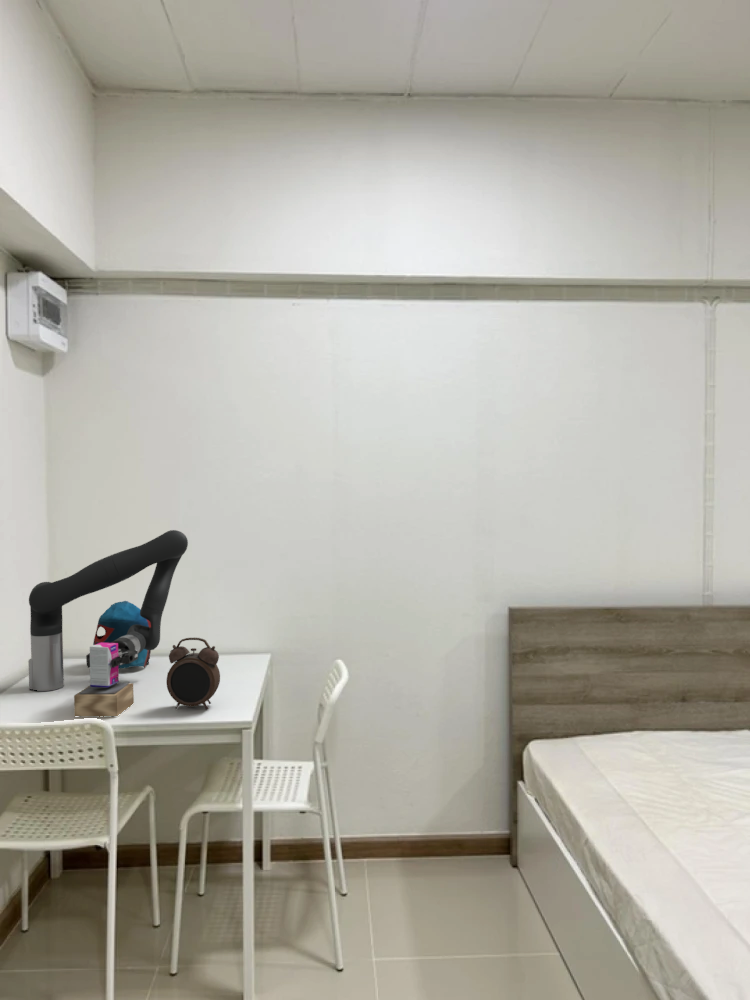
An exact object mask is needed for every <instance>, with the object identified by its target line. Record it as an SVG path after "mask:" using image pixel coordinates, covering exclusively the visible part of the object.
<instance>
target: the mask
mask: <svg viewBox="0 0 750 1000" xmlns="http://www.w3.org/2000/svg"><path fill="white" fill-rule="evenodd" d="M140 610H141V608H140V607H138V606H137V605H135V604H134V603H131V602H129V601H128V600H123V601H119V602H114V603H113V604H110V606H109V607H108V608H107V609H106V610H105V611H104V612H103V613H102V614H101V615H100V617H99V618H98V621H97V625H96V631H95V633H94V634H95V635H94V638H93V644H92V646H93V645H96V644H98V643H101V642H102V643H111V642H113V641H115V640H116V639H118V638H120V637H122V636H125V635H126V634H127V632H128V630H129V628H130V627H131V626H132V625H136V624H137V625H142V626H146V627H150V628H151V623H150V621H149V620H147V619H145V618H143V617H142V616H141V615H140ZM100 627H101V628H103V630H104V631H105V633H104V634H103V635H100V636H99V635H98V630H99V629H100ZM151 652H152V650H146V649H143V650H142V651H141V652H140V653H138V659H137V660H135V661H133V662H131V663H129V664H123V665H118V670H120V669H127V668H133V667H143V669H144V668H145V669H146V667H147V664H148V665H149V664H150V659H151V658H150V657H151ZM147 662H148V663H147Z"/></svg>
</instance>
